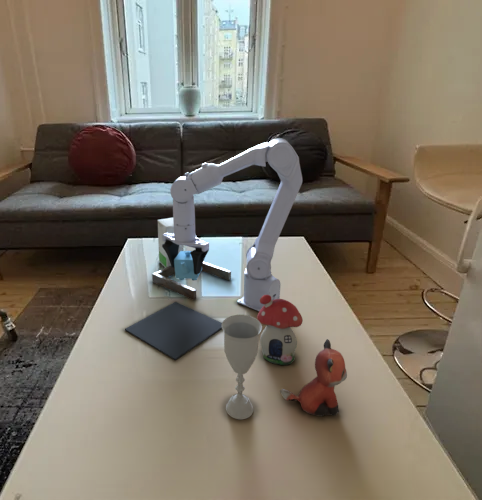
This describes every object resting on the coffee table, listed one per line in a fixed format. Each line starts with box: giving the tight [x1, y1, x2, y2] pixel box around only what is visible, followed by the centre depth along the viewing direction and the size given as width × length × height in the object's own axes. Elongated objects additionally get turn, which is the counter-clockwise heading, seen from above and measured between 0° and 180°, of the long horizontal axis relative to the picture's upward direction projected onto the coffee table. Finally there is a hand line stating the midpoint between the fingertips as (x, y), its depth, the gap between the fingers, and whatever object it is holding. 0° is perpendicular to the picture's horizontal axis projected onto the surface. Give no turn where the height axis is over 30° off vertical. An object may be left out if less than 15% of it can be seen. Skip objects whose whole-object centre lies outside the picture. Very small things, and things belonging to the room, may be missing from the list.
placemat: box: [124, 301, 223, 361], centre depth 97 cm, size 18×18×1 cm
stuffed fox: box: [279, 338, 348, 417], centre depth 70 cm, size 8×11×12 cm
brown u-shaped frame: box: [151, 261, 232, 301], centre depth 121 cm, size 18×17×3 cm
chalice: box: [221, 314, 263, 420], centre depth 68 cm, size 7×7×18 cm
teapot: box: [174, 250, 203, 281], centre depth 107 cm, size 12×6×8 cm, turn 167°
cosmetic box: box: [157, 217, 185, 268], centre depth 131 cm, size 8×7×16 cm
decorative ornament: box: [256, 295, 304, 366], centre depth 83 cm, size 9×6×15 cm
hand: (186, 269), depth 107 cm, fingers closed on teapot, 7 cm apart
